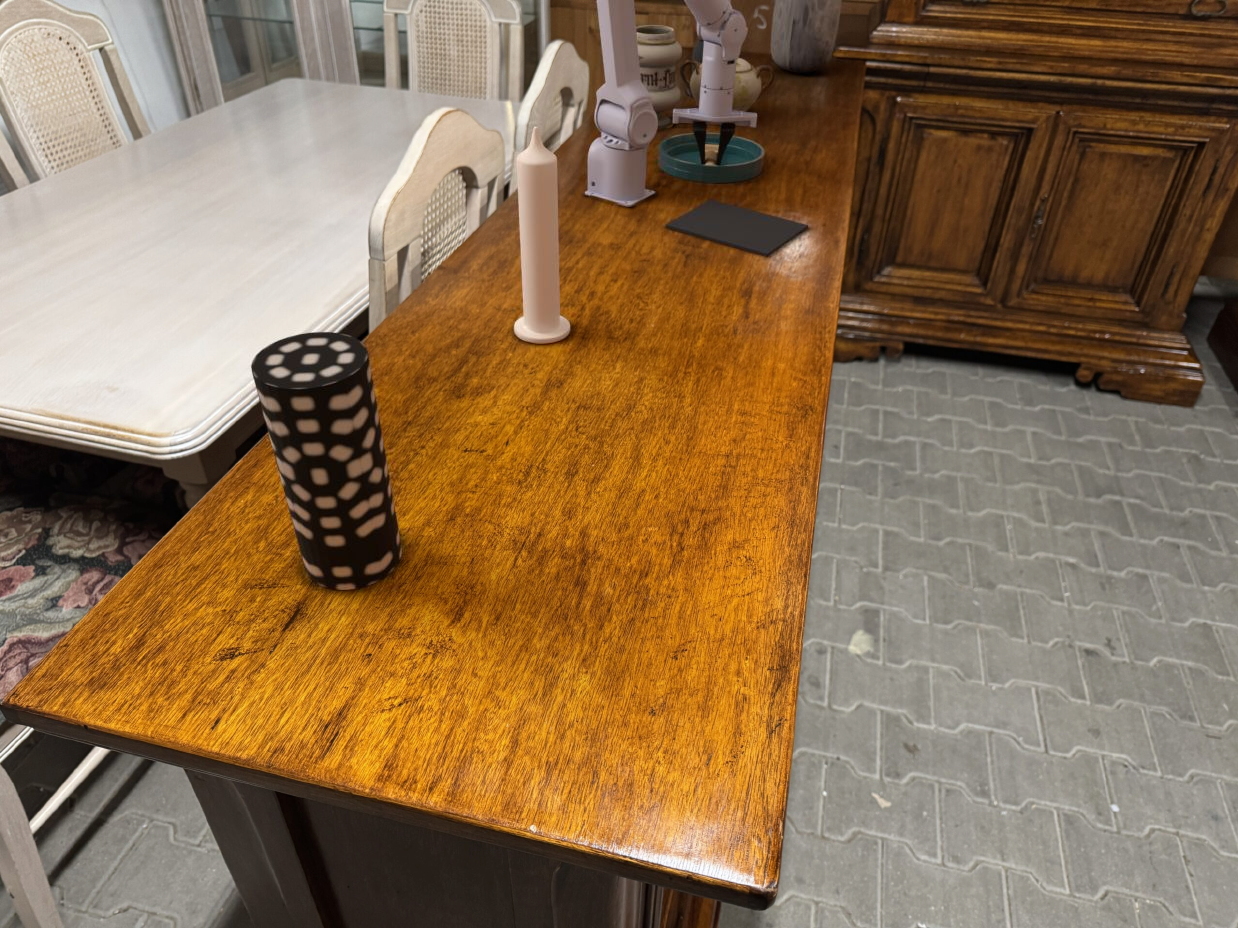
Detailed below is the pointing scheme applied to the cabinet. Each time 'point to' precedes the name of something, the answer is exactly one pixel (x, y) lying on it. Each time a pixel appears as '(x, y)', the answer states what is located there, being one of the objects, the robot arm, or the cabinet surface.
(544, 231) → the candle
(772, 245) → the mat
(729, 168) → the bowl
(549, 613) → the cabinet surface
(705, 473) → the cabinet surface
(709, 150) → the wooden handle
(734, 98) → the sugar bowl
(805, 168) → the cabinet surface
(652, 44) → the apothecary jar
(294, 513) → the white-spotted black cylinder
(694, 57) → the mug
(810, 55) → the vase
